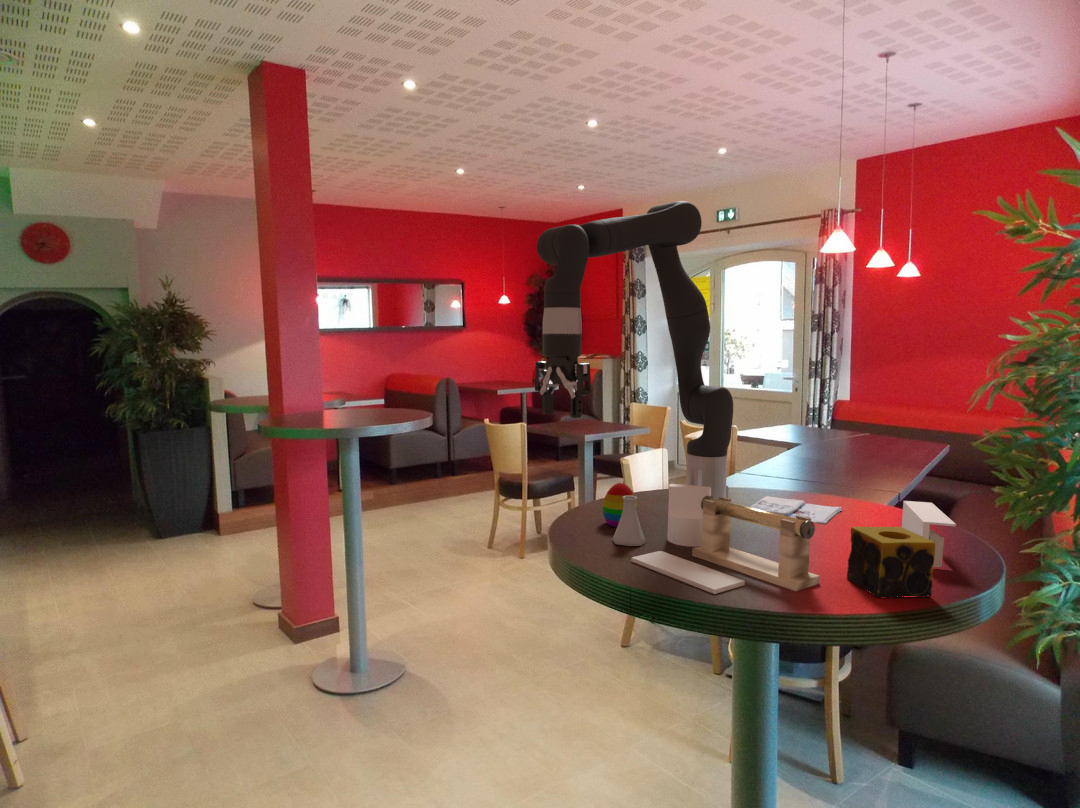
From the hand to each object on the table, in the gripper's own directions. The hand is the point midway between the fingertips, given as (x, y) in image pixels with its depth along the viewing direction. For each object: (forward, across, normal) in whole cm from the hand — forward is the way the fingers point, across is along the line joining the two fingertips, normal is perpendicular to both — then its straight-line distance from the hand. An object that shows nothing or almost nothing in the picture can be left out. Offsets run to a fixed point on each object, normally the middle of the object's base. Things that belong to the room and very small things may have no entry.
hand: (561, 415), depth 133 cm
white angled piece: (+30, -42, -63) cm, 81 cm away
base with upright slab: (+29, -6, -31) cm, 43 cm away
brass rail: (+20, -26, -26) cm, 42 cm away
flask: (+29, 0, -19) cm, 35 cm away
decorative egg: (+29, +12, -28) cm, 42 cm away
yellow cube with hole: (+29, -47, -37) cm, 67 cm away
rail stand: (+29, -26, -26) cm, 47 cm away
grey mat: (+29, -20, -14) cm, 38 cm away
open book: (+30, -5, -74) cm, 80 cm away
